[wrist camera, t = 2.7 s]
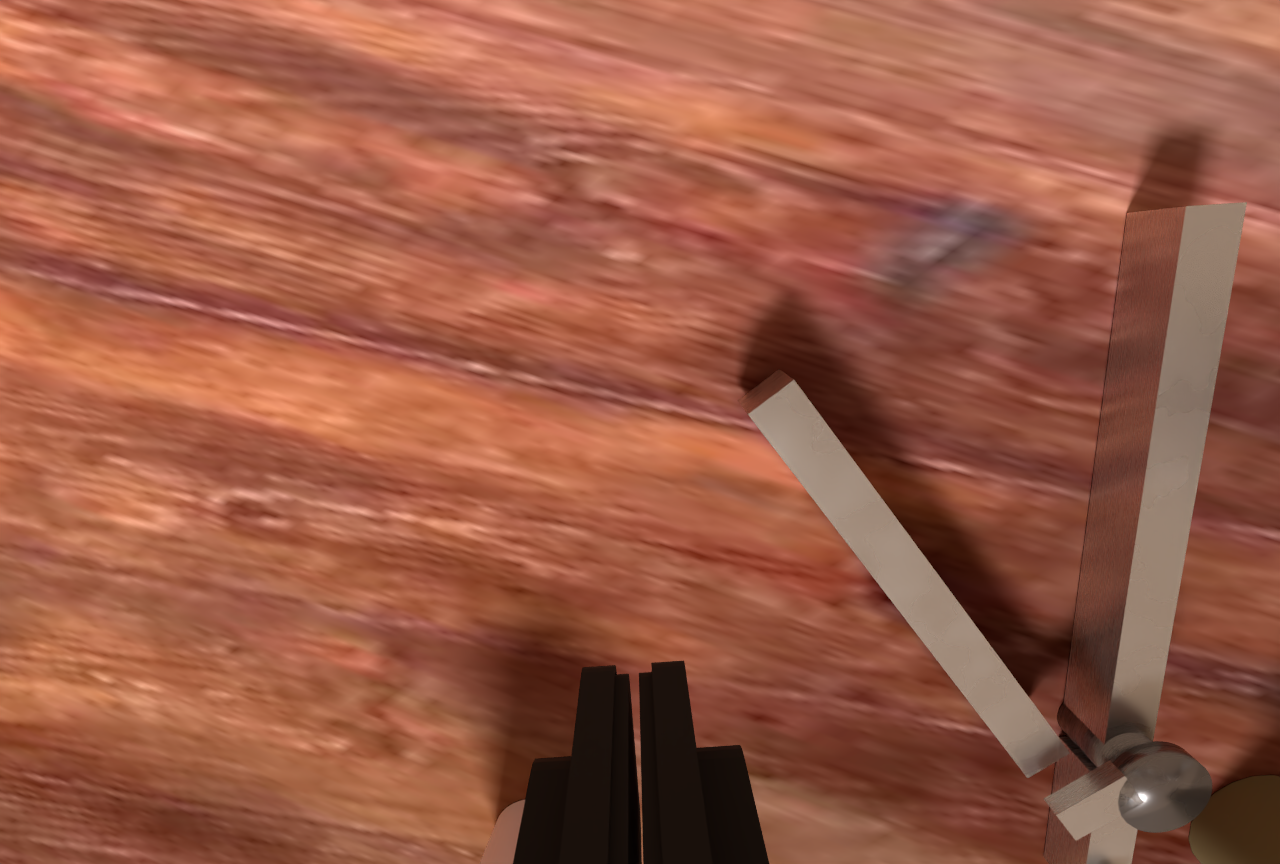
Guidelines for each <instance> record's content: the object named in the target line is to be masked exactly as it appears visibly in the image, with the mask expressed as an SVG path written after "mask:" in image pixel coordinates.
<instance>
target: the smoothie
mask: <svg viewBox="0 0 1280 864" xmlns="http://www.w3.org/2000/svg"><path fill="white" fill-rule="evenodd" d="M524 804H525V800H521V801H518V802H515V803H513V804H511V805H509V806H508V807H507V808H505V809H504V810H503V811H502V813H501V814H500V815H499V817H498V819H497V822H496V824H495V827H494V829H493V832H492V834H491V837H490V839H489V842H488V844H487V846H486V849H485V851H484V854H483V856H482V859H481V861H480V864H513V860H514V855H515V850H516V845H517V839H518V834H519V829H520V824H521V819H522V814H523V809H524Z"/></svg>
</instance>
